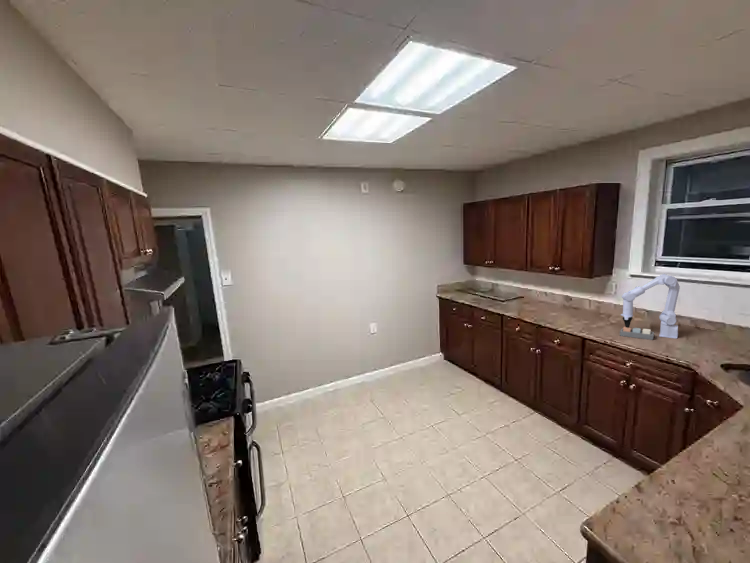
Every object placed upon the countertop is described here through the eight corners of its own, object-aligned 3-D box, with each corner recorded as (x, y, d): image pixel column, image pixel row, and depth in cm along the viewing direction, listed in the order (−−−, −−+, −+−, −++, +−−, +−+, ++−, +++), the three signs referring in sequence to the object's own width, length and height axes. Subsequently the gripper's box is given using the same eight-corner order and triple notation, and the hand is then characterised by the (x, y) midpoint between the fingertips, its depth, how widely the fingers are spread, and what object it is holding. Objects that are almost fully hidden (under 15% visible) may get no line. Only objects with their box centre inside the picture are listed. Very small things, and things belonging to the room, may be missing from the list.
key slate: (640, 333, 236) (640, 328, 235) (640, 334, 233) (640, 329, 232) (633, 332, 239) (633, 327, 238) (632, 334, 236) (632, 329, 235)
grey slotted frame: (653, 336, 233) (654, 331, 232) (652, 340, 227) (653, 335, 226) (621, 332, 246) (621, 328, 245) (619, 335, 239) (619, 331, 239)
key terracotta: (631, 332, 240) (631, 327, 239) (630, 333, 237) (630, 328, 236) (623, 331, 243) (624, 326, 242) (623, 332, 240) (623, 328, 239)
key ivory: (650, 334, 232) (650, 329, 232) (650, 336, 229) (650, 331, 229) (642, 333, 235) (643, 328, 234) (642, 335, 232) (642, 330, 231)
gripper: (622, 306, 245) (622, 323, 247) (619, 310, 235) (619, 328, 237) (634, 307, 240) (633, 325, 242) (631, 311, 230) (631, 330, 232)
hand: (627, 327), depth 239 cm, fingers closed
